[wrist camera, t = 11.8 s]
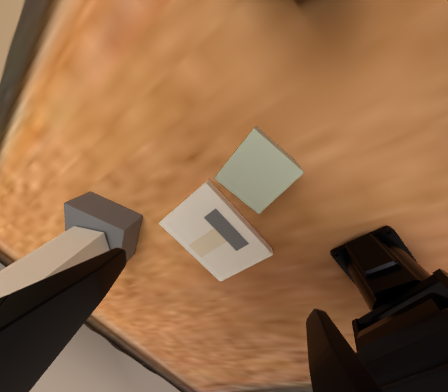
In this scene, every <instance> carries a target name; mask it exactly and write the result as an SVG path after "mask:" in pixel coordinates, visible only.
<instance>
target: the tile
mask: <svg viewBox="0 0 448 392" xmlns="http://www.w3.org/2000/svg"><path fill="white" fill-rule="evenodd" d="M159 224H160V225H161V226H162V227H163V228H164V229H165V230H166V231H167V232H168V233H169V234H170V235H171V236H172V237H173V238H174V239H176V240H177V241H178V242H179V243H180V244H181V245H182V246H183V247H184V248H185V249H186V250H187V251H188V252H189V253H190V254H191V255H192V256H193V257H194V258H196V259H197V260H198V261H199V262H200V263H201V264H202V265H203V266H204V267H205V268H206V269H207V270H208V271H209V272H210V273H211V274H212V275H213V276H215V277H216V278H217V279H218V280H219V281H220V282H221V281H223V280H225V279H227V278H229V277H231V276H233V275H235V274H237V273H239V272H241V271H243V270H245V269H247V268H249V267H251V266H253V265H255V264H257V263H259V262H260V261H262V260H264V259H266V258H268V257H270V256H272V255H273V250H272V248H271V247H270V245H269V244H268V243H267V242H266V241H265V240H264V239H263V238H262V237H261V236H260V235H259V233H258V232H257V231H256V230H255V229H254V228H253V227H252V226H251V225H250V224H249V223H248V221H247V220H246V219H245V218H244V217H243V216H242V215H241V214H240V213H239V212H238V211H237V209H236V208H235V207H234V206H233V205H232V204H231V203H230V202H229V201H228V200H227V199H226V197H225V196H224V195H223V194H222V193H221V192H220V191H219V190H218V189H217V188H216V187H215V185H214V184H213V183H212V182H211V181H210V180H209V179H208V180H207V181H206V182H204V183H203V184H202V185H201V186H200V187H199V188H198V189H196V190H195V191H194V192H193V193H192V194H191V195H190V196H188V197H187V198H186V199H185V200H184V201H183V202H182V203H180V204H179V205H178V206H177V207H176V208H175V209H174V210H172V211H171V212H170V213H169V214H168V215H167V216H165V217H164V218H163V219H162V220H161V221H160V222H159Z"/></svg>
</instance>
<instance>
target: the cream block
mask: <svg viewBox="0 0 448 392" xmlns="http://www.w3.org/2000/svg"><path fill="white" fill-rule="evenodd" d="M107 251H109V247H108V243H107V240H106V237H105V234H104V232H99V231H95V230H90V229H86V228H81V227H77V226H73V227H72V228H70V229H68V230H67V231H65V232H63V233H62V234H60V235H58V236H57V237H55V238H54V239H52V240H50V241H49V242H47V243H45V244H44V245H42V246H40V247H39V248H37V249H36V250H34V251H32V252H31V253H29V254H27V255H26V256H24V257H22V258H21V259H19V260H18V261H16V262H14V263H13V264H11V265H9V266H8V267H6V268H4V269H3V270H1V271H0V298H1V297H3V296H5V295H10V293H12V292H15V291H17V290H19V289H22V288H24V287H26V286H29V285H31V284H33V283H35V282H38V281H40V280H42V279H45V278H47V277H49V276H52V275H54V274H56V273H58V272H61V271H63V270H65V269H68V268H70V267H72V266H75V265H77V264H79V263H81V262H84V261H86V260H88V259H91V258H93V257H95V256H98V255H100V254H102V253H104V252H107Z"/></svg>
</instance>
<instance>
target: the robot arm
mask: <svg viewBox="0 0 448 392" xmlns="http://www.w3.org/2000/svg"><path fill="white" fill-rule="evenodd" d="M388 230H389V231H388ZM386 231H388V232H386ZM335 253H337V254H335ZM331 255H332V257H333V258H334V259H335V260H336V262H337V263H338V264H339V265H340V266H341V268H342V269H343V270H344V271H345V272H346V274H347V275H348V276H349V277H350V278H351V280H352V281H353V282H354V283H355V284H356V286H357V287H358V289H359V291H360V293H361V294H362V296H363V298H364V300H365V301H366V303H367V305H368V307H369V308H370V310H371V312H369V313H367V314H366V315H364V316H362V317H361V318H359V319H357V318H356V319H355V320H353V321H352V326H353V332H354V338H355V344H356V350H357V352H356V353H355V352H354V350H353V349H352V348H351V346H350V345H349V344H348V342H347V341H346V339H345V338H344V337H343V335H342V334H341V333H340V331H339V330H338V328H337V327H336V326H335V324H334V323H333V322H332V320H331V319H330V317H329V316H328V315H327V313H326V312H324V311H322V310H319V309H314V310H313V311H312V312H311V314H310V315H309V317H308V318H307V321H306V330H307V345H308V360H309V369H310V376H311V383H312V389H313V392H448V273H447V272H445V271H443V270H441V269H438V270H436V271H435V272H433V275H430V274H429V273H428V272H426V271H425V270H424V269H423V268H422V267H421V266H420V265H419V264H418V263H417V262H416V260H415V259H414V257H413V256H412V254H411V253H410V252H409V250H408V249H407V247H406V246H405V245H404V243H403V242H402V240H401V239H400V237H399V236H398V235H397V233H396V232H395V230H394V229H393V228H391V227H390V226H385V227H382V228H380V229H378V230H376V231H374V232H371V233H369V234H367V235H365V236H362V237H360V238H358V239H356V240H353V241H351V242H349V243H347V244H344V245H342V246H340V247H338V248H335V249H333V250H332V251H331ZM126 262H127V258H126V250H125V249H122V248H119V247H117V248H114V249H111V250H109V251H107V252H104V253H102V254H100V255H98V256H95V257H93V258H91V259H88V260H86V261H84V262H81V263H79V264H77V265H75V266H72V267H70V268H68V269H65V270H63V271H61V272H58V273H56V274H54V275H52V276H49V277H47V278H45V279H42V280H40V281H38V282H35V283H33V284H31V285H29V286H26V287H24V288H22V289H19V290H17V291H15V292H12V293H10V295H5V296H3V297H1V298H0V392H29V391H30V390H31V389H32V387H33V386H34V385H35V383H36V382H37V381H38V380H39V379H40V377H41V376H42V375H43V373H44V372H45V371H46V370H47V369H48V367H49V366H50V365H51V364H52V362H53V361H54V360H55V359H56V357H57V356H58V355H59V353H60V352H61V351H62V350H63V349H64V347H65V346H66V345H67V343H68V342H69V341H70V340H71V338H72V337H73V336H74V335H75V334H76V332H77V331H78V330H79V328H80V327H81V326H82V325H83V324H84V322H85V321H86V320H87V319H88V317H89V316H90V315H91V314H92V312H93V311H94V310H95V309H96V307H97V306H98V305H99V304H100V302H101V301H102V300H103V298H104V297H105V296H106V294H107V293H108V291H109V290H110V288H111V287H112V285H113V284H114V282H115V281H116V279H117V278H118V276H119V275H120V273H121V272H122V270H123V269H124V267H125V265H126Z"/></svg>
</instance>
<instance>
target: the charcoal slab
mask: <svg viewBox="0 0 448 392" xmlns="http://www.w3.org/2000/svg"><path fill="white" fill-rule="evenodd" d="M64 213H65V231H67V230H68V229H70V228H72V227H73V226H77V227H81V228H86V229H90V230H95V231H99V232H104V234H105V237H106V240H107V243H108V247H109V250H111V249H114V248H117V247H119V248H122V249H125V250H126V258H127V261H128V260H129V259H130V258H131V257H132V256H133V255H134V254H135V249H136V244H137V240H138V235H139V230H140V225H141V221H142V216H143V215H141V214H139V213H137V212H135V211H132V210H130V209H128V208H126V207H124V206H121V205H119V204H117V203H115V202H113V201H111V200H108V199H106V198H104V197H102V196H100V195H97V194H95V193H93V192H91V191H90V192H88V193H86V194H83V195H81V196H79V197H77V198H74V199H72V200H70V201H67V202H65V203H64Z"/></svg>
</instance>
